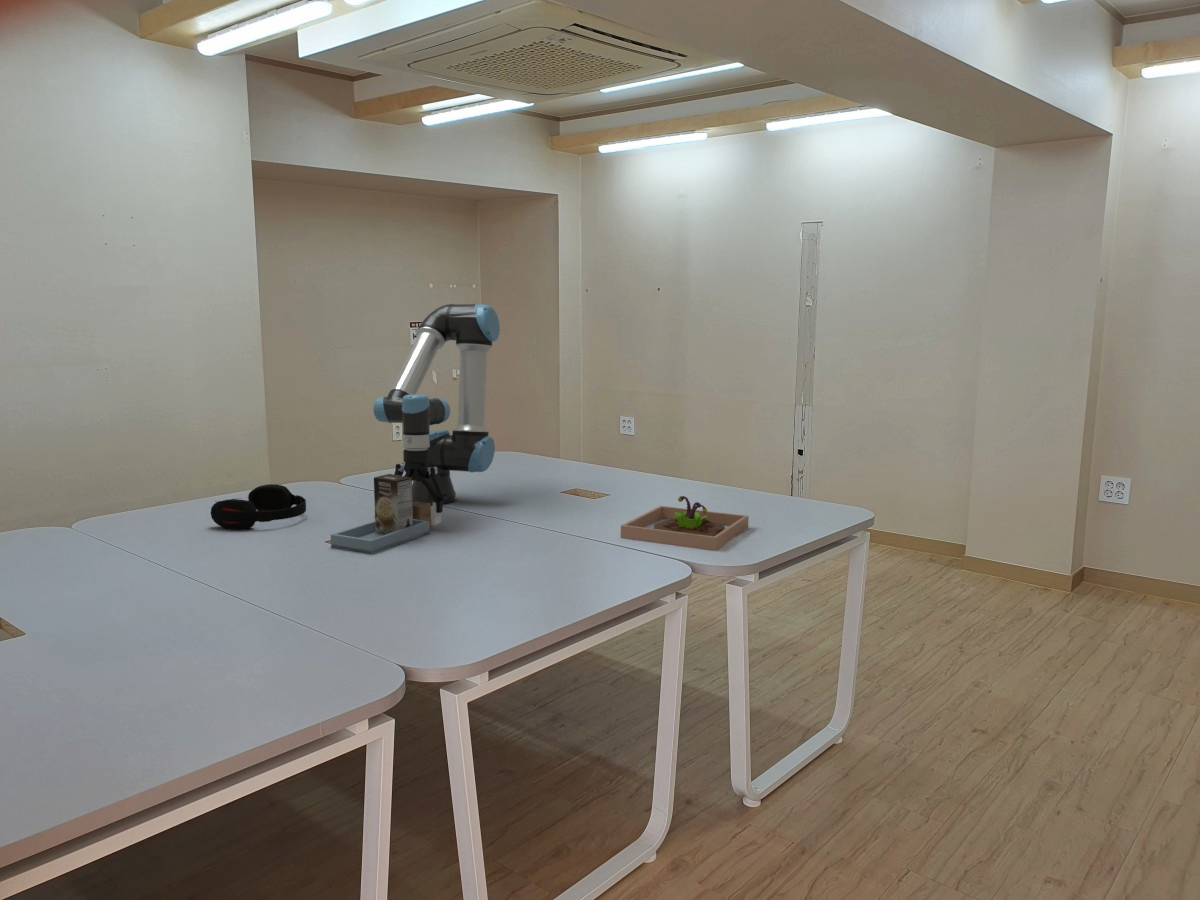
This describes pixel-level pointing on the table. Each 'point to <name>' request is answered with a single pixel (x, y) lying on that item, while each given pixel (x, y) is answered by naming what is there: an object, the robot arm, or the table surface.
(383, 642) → the table surface
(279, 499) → the headset
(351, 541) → the tray
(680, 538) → the plant saucer
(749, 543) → the table surface
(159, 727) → the table surface
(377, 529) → the coffee box
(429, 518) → the walnut block
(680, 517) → the plant
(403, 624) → the table surface
